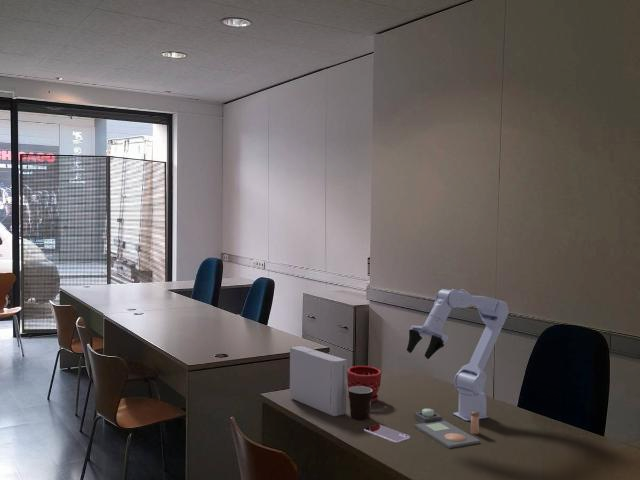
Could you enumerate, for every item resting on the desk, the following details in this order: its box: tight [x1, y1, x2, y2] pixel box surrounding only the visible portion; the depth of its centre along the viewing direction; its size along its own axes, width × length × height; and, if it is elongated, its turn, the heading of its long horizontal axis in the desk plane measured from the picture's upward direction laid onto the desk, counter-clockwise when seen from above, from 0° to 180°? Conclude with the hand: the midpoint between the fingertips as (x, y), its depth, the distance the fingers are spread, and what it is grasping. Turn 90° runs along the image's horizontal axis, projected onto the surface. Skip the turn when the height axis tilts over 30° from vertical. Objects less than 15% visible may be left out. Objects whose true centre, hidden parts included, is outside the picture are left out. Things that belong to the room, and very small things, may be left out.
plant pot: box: [346, 365, 382, 404], centre depth 238 cm, size 13×13×12 cm
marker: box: [470, 411, 480, 435], centre depth 206 cm, size 3×3×7 cm
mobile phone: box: [363, 423, 411, 443], centre depth 204 cm, size 8×1×15 cm
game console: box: [289, 345, 348, 417], centre depth 231 cm, size 6×27×20 cm, turn 39°
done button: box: [421, 408, 435, 418], centre depth 217 cm, size 4×4×2 cm
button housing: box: [413, 411, 443, 424], centre depth 217 cm, size 7×7×2 cm
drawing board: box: [414, 419, 481, 449], centre depth 204 cm, size 12×20×1 cm, turn 23°
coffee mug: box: [347, 386, 373, 421], centre depth 220 cm, size 12×9×10 cm
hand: (417, 354), depth 205 cm, fingers open, 7 cm apart
